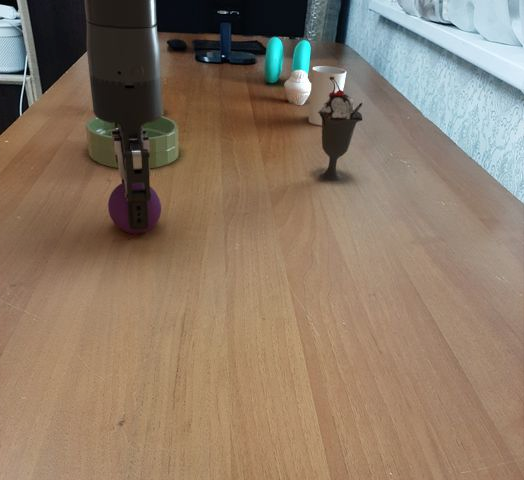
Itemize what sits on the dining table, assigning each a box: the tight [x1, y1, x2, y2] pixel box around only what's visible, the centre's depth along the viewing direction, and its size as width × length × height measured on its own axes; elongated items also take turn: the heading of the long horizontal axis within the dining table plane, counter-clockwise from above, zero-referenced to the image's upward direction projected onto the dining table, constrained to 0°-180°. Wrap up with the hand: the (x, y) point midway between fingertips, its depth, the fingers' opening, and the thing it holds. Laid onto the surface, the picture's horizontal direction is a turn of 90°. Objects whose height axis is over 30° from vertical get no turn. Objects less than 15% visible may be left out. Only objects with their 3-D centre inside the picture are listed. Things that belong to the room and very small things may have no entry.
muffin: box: [283, 69, 311, 106], centre depth 124 cm, size 6×6×7 cm
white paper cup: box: [308, 65, 347, 127], centre depth 112 cm, size 7×7×10 cm
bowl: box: [85, 115, 180, 169], centre depth 92 cm, size 14×14×5 cm
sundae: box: [318, 77, 363, 182], centre depth 87 cm, size 7×7×15 cm
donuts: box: [264, 36, 312, 84], centre depth 137 cm, size 10×10×10 cm
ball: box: [107, 182, 162, 235], centre depth 70 cm, size 6×6×6 cm
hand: (135, 215), depth 71 cm, fingers closed on ball, 6 cm apart
